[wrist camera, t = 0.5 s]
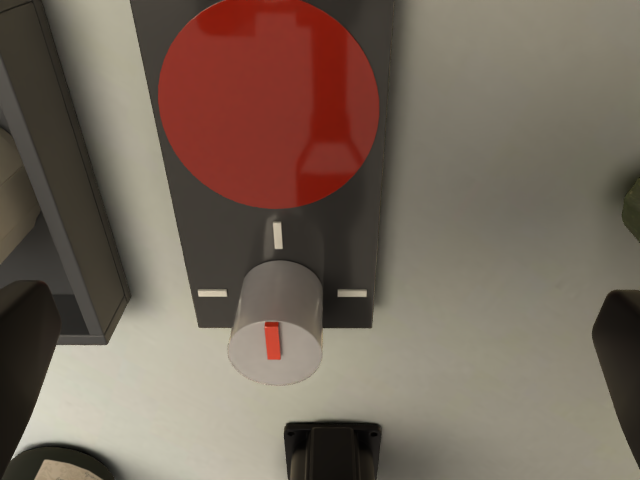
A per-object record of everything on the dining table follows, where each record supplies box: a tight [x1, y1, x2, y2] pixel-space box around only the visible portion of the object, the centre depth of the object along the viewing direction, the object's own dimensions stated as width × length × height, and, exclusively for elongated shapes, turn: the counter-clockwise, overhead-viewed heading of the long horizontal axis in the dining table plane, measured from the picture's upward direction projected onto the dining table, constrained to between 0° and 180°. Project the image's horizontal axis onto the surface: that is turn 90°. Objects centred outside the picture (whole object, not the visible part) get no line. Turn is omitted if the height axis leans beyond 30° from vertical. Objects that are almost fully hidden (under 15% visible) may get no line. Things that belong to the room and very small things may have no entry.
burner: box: [158, 0, 379, 209], centre depth 19 cm, size 8×8×1 cm
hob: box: [130, 0, 395, 328], centre depth 22 cm, size 18×9×2 cm, turn 1°
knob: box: [228, 260, 323, 386], centre depth 22 cm, size 4×4×4 cm
